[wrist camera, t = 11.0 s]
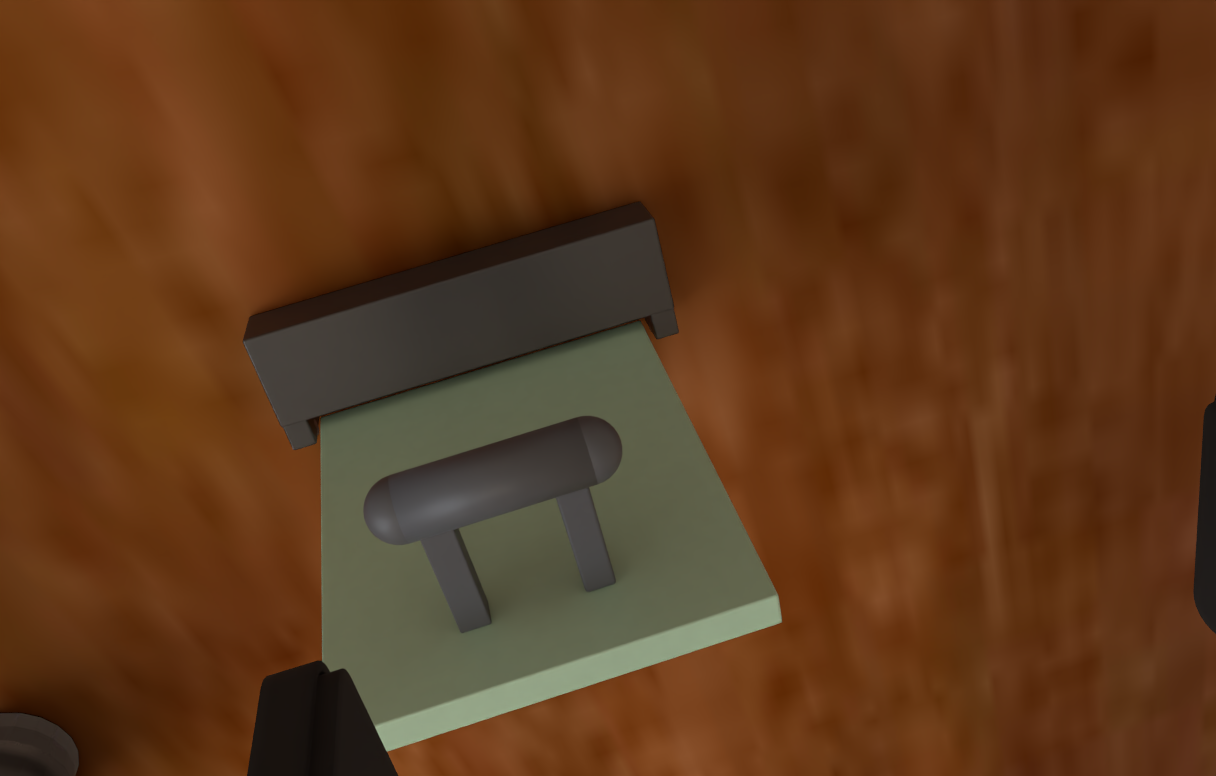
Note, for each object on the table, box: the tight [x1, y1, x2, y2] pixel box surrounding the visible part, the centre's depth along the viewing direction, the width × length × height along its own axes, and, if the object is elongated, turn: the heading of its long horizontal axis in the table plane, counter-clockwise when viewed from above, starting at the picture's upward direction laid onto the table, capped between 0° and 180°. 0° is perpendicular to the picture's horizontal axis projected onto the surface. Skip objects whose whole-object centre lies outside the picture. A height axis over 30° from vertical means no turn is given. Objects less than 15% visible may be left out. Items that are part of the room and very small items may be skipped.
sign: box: [321, 321, 782, 751], centre depth 28 cm, size 13×11×6 cm
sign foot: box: [243, 202, 679, 450], centre depth 34 cm, size 4×13×2 cm, turn 103°
